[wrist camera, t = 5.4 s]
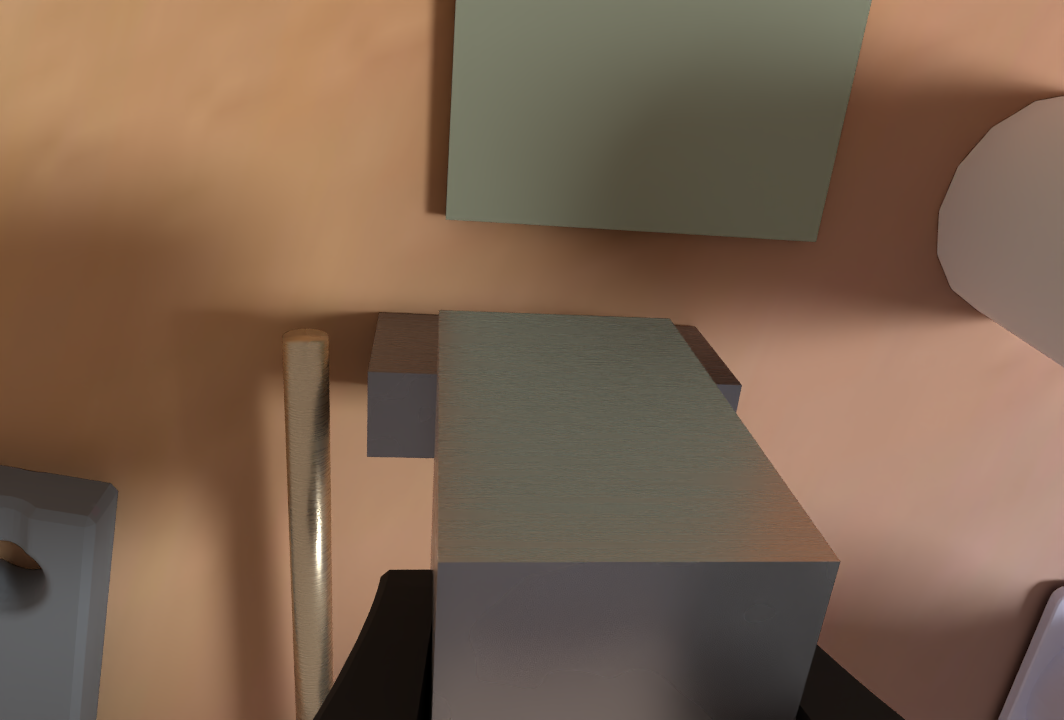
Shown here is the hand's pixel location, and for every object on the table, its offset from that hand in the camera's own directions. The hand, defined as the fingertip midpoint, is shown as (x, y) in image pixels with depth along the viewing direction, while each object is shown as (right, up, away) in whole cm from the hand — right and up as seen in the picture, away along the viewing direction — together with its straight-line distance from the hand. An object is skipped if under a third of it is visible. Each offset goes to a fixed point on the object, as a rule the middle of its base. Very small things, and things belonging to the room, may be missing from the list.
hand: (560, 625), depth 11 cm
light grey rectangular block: (0, +1, +3) cm, 3 cm away
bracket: (-15, -4, +12) cm, 19 cm away
